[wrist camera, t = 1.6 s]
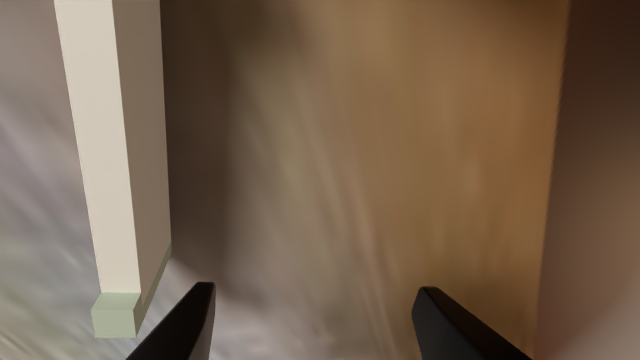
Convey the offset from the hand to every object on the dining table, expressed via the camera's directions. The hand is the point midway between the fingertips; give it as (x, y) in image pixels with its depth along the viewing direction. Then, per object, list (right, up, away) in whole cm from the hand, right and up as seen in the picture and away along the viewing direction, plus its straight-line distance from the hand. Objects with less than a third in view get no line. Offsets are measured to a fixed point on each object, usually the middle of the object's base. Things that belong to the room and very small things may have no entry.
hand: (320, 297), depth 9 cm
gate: (-8, +6, +8) cm, 13 cm away
